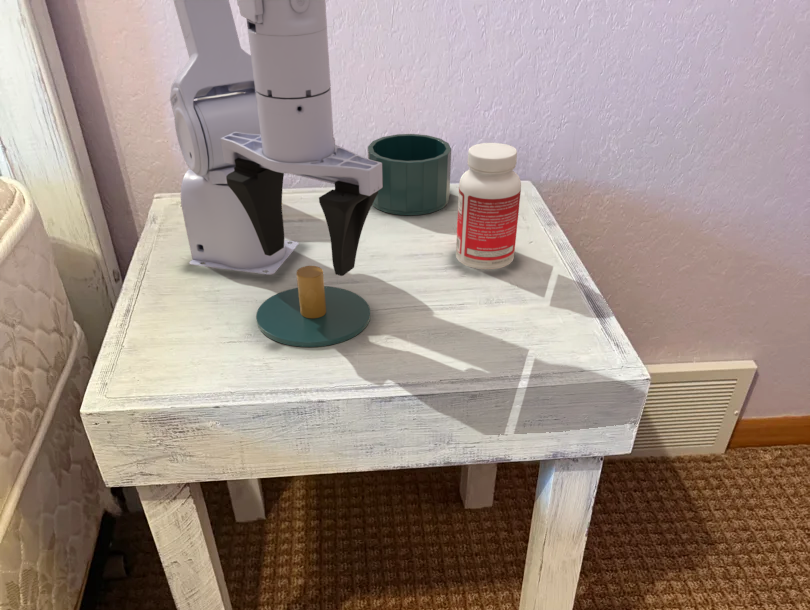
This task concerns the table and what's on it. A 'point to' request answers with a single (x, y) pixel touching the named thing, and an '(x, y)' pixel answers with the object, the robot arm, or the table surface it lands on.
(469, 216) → the pill bottle
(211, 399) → the table surface
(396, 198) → the tin
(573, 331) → the table surface
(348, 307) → the lid
